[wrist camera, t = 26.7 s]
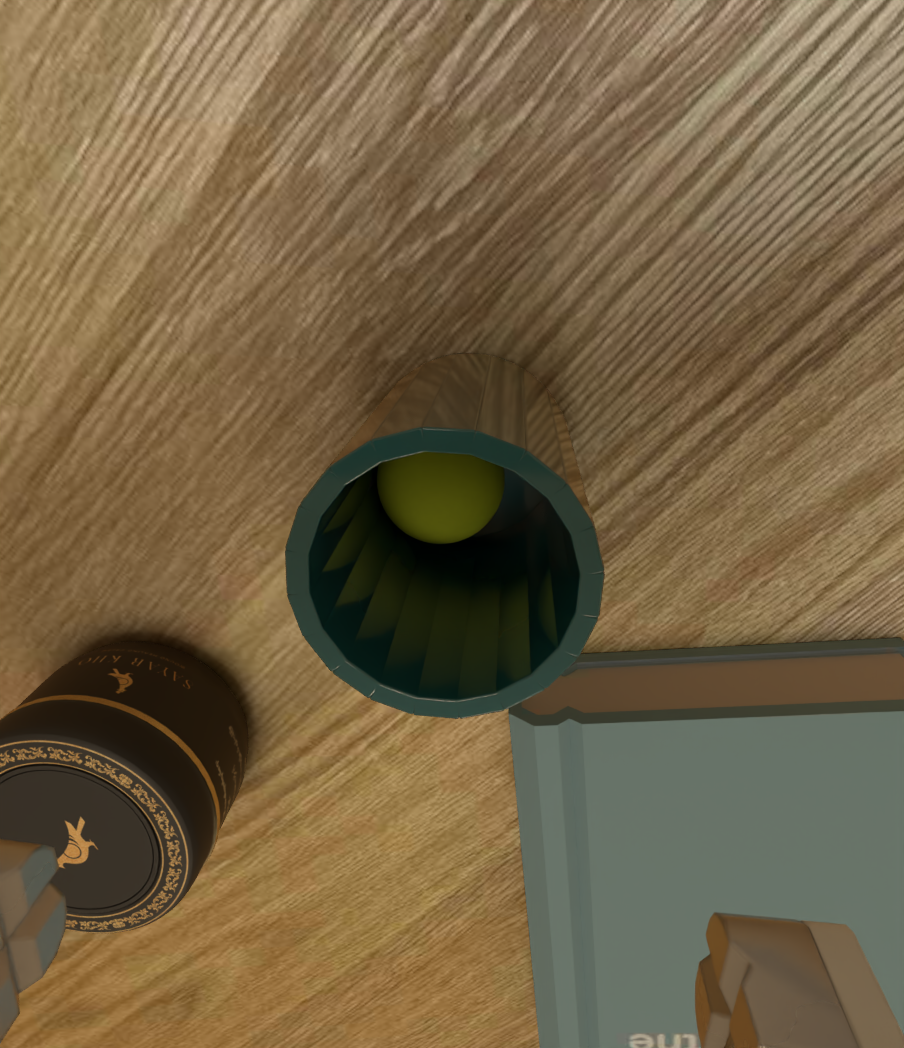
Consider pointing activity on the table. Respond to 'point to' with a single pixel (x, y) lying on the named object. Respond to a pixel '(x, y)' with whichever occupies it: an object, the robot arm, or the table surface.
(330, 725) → the table surface
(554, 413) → the tube
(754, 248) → the table surface
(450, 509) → the ball
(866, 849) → the book
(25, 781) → the jar
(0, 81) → the table surface
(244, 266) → the table surface
